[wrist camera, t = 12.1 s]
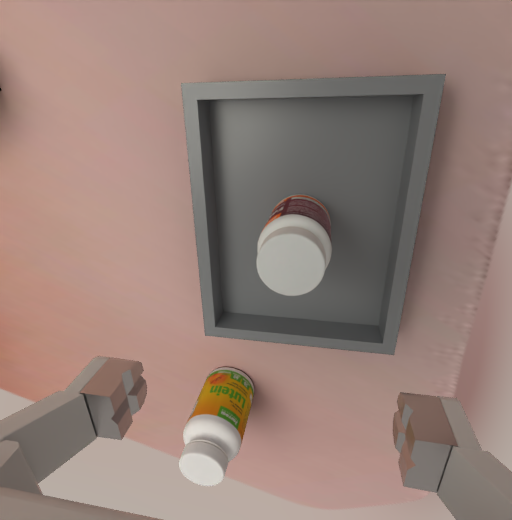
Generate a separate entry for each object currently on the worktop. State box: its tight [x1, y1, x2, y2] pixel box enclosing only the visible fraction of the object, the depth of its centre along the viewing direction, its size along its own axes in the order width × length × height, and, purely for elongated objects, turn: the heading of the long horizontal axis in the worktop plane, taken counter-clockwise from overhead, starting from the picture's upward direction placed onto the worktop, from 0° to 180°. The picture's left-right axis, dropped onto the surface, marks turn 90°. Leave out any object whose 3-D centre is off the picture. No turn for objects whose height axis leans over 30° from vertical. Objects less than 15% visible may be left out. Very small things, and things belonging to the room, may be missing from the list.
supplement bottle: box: [179, 367, 254, 486], centre depth 32 cm, size 5×5×10 cm
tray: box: [181, 74, 446, 355], centre depth 26 cm, size 20×16×4 cm
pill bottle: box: [256, 194, 332, 296], centre depth 23 cm, size 5×5×8 cm
